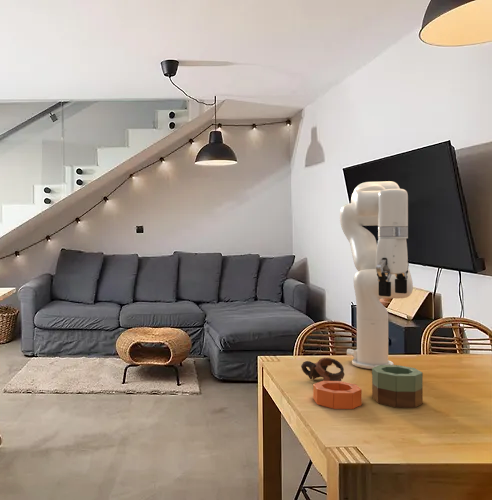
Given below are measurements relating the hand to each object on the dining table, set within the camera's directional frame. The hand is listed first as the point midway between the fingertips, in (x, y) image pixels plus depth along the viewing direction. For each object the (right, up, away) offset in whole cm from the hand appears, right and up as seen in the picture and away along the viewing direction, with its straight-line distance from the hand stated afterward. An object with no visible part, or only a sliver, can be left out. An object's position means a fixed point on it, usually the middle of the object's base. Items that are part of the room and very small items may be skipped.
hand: (393, 294), depth 149 cm
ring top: (-20, -27, -11) cm, 35 cm away
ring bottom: (-4, -27, -11) cm, 29 cm away
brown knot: (-18, -27, +7) cm, 33 cm away
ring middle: (-4, -23, -11) cm, 26 cm away
